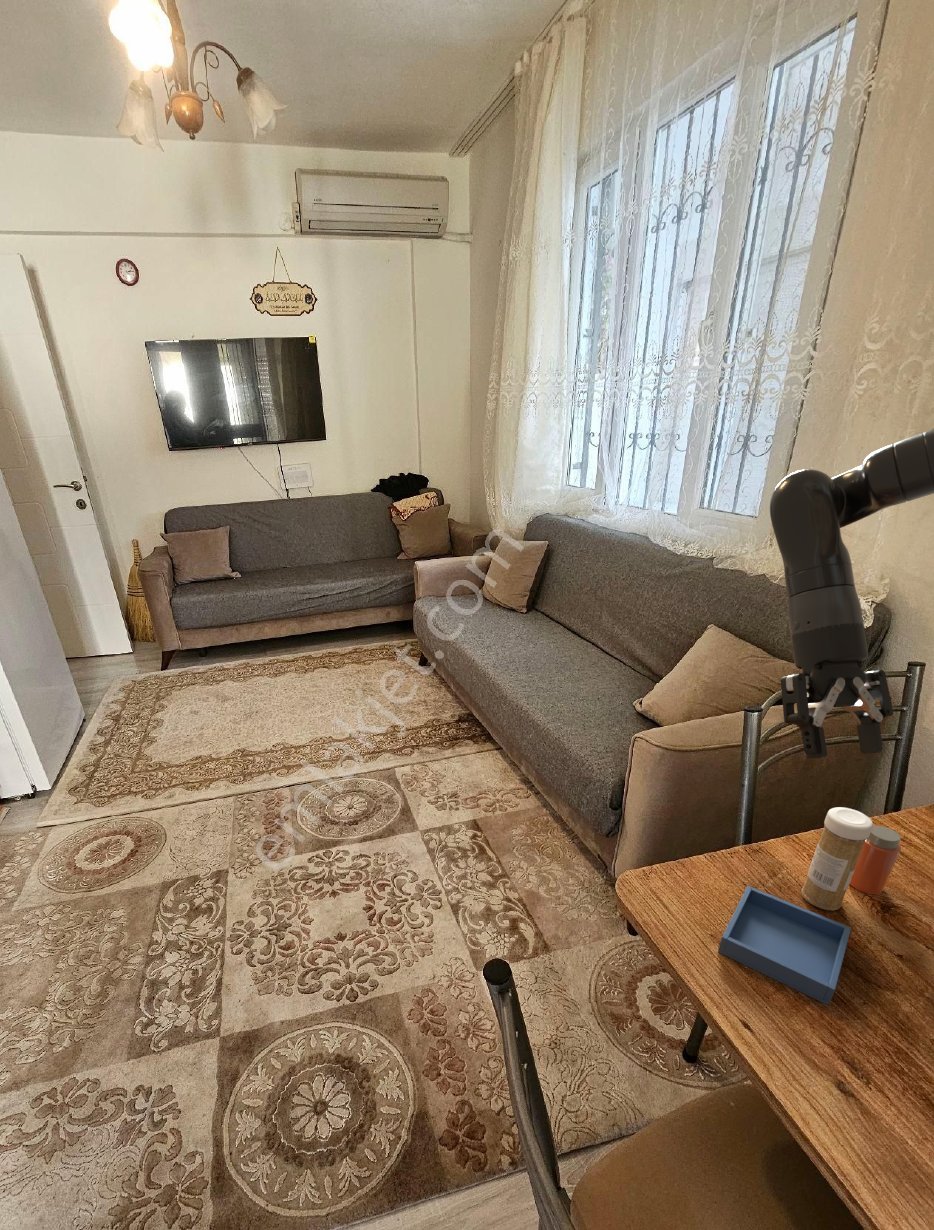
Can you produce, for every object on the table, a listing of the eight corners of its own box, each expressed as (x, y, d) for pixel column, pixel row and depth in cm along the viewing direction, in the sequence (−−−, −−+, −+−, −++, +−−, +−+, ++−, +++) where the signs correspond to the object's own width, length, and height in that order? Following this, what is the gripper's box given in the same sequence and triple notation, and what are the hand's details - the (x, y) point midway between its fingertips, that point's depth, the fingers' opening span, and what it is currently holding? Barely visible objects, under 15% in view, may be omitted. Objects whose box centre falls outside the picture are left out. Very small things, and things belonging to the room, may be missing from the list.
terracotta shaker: (884, 882, 79) (906, 831, 75) (881, 899, 76) (903, 847, 72) (849, 869, 81) (868, 820, 77) (844, 885, 79) (864, 834, 75)
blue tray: (845, 942, 70) (851, 927, 69) (828, 1006, 63) (835, 990, 62) (743, 899, 77) (747, 885, 76) (717, 952, 70) (721, 936, 69)
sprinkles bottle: (849, 908, 75) (883, 824, 69) (820, 915, 74) (852, 830, 68) (819, 884, 79) (849, 803, 73) (791, 890, 78) (819, 808, 72)
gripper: (807, 621, 68) (827, 759, 66) (900, 619, 71) (921, 750, 70) (755, 636, 75) (772, 760, 74) (842, 633, 79) (860, 752, 77)
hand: (844, 755), depth 72 cm, fingers open, 8 cm apart
